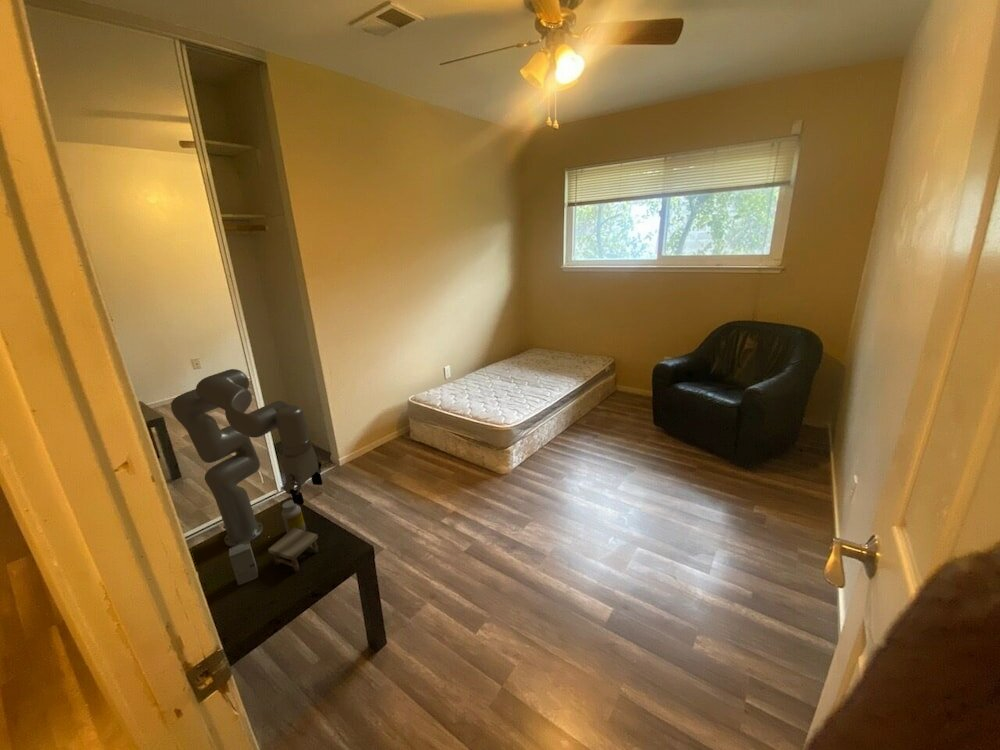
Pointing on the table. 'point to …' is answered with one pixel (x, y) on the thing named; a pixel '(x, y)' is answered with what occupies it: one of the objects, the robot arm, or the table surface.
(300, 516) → the supplement bottle
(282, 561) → the stool
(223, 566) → the table surface
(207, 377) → the robot arm
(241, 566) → the skincare box
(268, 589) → the table surface
